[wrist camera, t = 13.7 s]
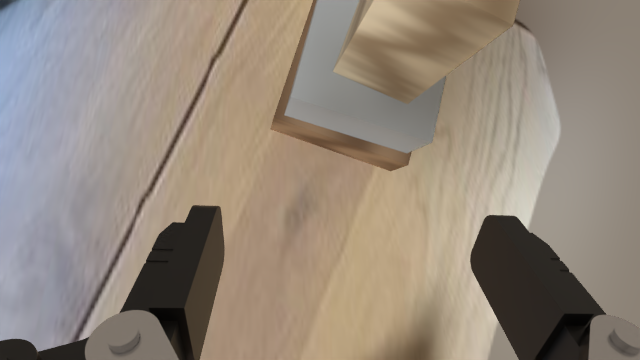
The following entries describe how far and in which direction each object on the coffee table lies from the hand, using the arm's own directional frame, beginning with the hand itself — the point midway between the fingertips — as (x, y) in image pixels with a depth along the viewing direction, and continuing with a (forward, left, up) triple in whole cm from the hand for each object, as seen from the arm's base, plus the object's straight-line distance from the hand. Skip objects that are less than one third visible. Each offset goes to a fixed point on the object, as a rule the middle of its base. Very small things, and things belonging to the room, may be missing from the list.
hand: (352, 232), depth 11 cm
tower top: (+2, +13, -15) cm, 20 cm away
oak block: (+2, +13, -11) cm, 18 cm away
